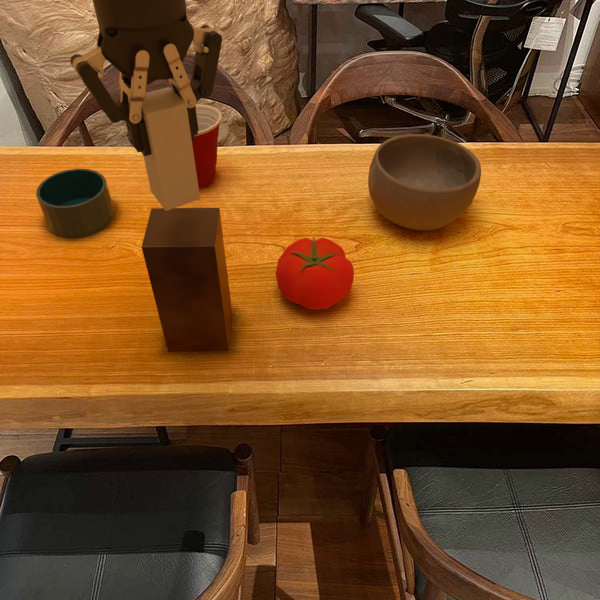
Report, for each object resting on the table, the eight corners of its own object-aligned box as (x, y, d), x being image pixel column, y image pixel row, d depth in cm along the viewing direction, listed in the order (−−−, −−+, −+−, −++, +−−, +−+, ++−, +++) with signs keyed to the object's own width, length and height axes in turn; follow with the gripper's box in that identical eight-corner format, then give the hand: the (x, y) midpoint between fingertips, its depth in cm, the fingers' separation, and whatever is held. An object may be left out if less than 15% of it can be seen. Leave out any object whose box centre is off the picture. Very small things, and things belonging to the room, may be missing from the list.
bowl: (467, 185, 103) (479, 134, 96) (472, 251, 91) (487, 198, 83) (368, 177, 105) (374, 126, 98) (361, 240, 92) (366, 187, 85)
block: (165, 211, 61) (146, 114, 53) (151, 192, 64) (130, 96, 56) (200, 199, 63) (186, 103, 55) (184, 181, 65) (169, 86, 57)
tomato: (276, 268, 88) (275, 229, 83) (349, 267, 88) (352, 228, 83) (275, 320, 80) (274, 281, 75) (355, 319, 81) (359, 280, 75)
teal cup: (58, 246, 91) (46, 215, 87) (40, 211, 98) (28, 181, 93) (123, 224, 95) (115, 193, 91) (102, 191, 102) (93, 161, 97)
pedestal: (167, 351, 77) (141, 247, 64) (174, 312, 82) (151, 208, 69) (228, 350, 77) (214, 246, 64) (232, 311, 82) (219, 207, 69)
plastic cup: (190, 156, 109) (181, 95, 101) (239, 172, 106) (234, 110, 97) (154, 186, 103) (141, 123, 94) (205, 203, 99) (196, 140, 90)
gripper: (193, -70, 51) (213, 111, 64) (28, -44, 46) (85, 148, 58) (232, -48, 47) (246, 142, 59) (55, -16, 42) (110, 185, 54)
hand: (166, 144), depth 59 cm, fingers closed on block, 4 cm apart
